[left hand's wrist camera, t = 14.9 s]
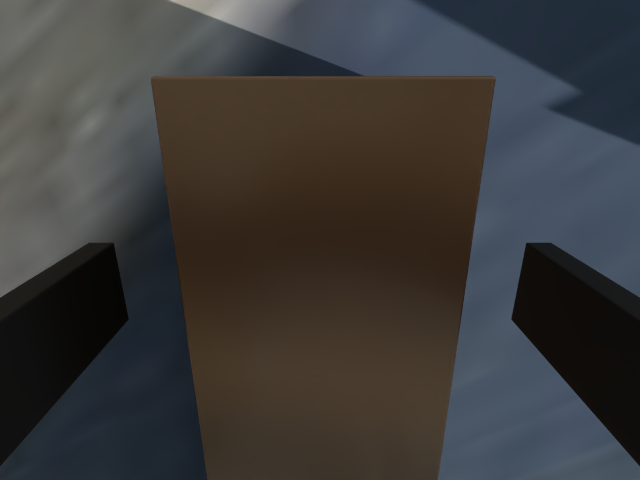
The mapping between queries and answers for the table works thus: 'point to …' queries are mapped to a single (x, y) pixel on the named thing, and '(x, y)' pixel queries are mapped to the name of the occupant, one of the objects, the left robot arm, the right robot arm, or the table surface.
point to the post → (322, 264)
